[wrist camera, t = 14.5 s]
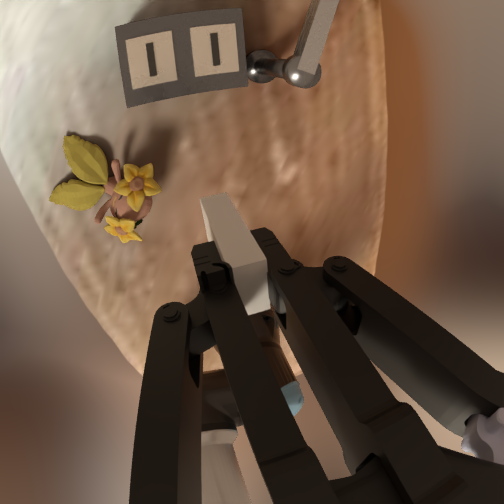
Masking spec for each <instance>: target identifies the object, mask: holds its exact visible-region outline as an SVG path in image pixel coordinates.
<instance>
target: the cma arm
mask: <svg viewBox="0 0 504 504" xmlns="http://www.w3.org/2000/svg"><path fill="white" fill-rule="evenodd" d="M338 3H339V0H312V1H311V4H310V6H309V9H308V12H307V15H306V18H305V21H304V24H303V27H302V30H301V33H300V36H299V39H298V42H297V45H296V48H295V51H294V54H293V55H292V56H290V57H289V58H287V59H286V60H285V62H284V63H283V66H282V74H283V77H284V79H285V80H286V82H287V83H289V84H290V85H293V86H296V87H300V88H311V87H313V86H315V85H316V84H317V83H318V82H319V80H320V78H321V66H320V64H319V60H320V57H321V54H322V51H323V48H324V45H325V42H326V39H327V36H328V33H329V30H330V27H331V24H332V21H333V18H334V15H335V12H336V9H337V6H338Z"/></svg>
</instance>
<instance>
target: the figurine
mask: <svg viewBox="0 0 504 504" xmlns="http://www.w3.org/2000/svg"><path fill="white" fill-rule="evenodd" d="M63 149H64V153H65V157H66V159H67V160H69V161H68V162H67V163H68V165H69V166H70V167H71V168H72V169H71V170H72V172H73V173H74V174H75V175H76V176H77V177H78V178H80V179H81V180H83V181H85V182H88V183H91V184H88V183H85V182H82V181H80V180H75V179H70V180H69V181H68V183H66V182H63V183H62V184H59V185H58V186H57V187H56V188H55V190H53V191H52V194H51V197H50V199H49V201H51V202H54V203H55V204H60V205H63V204H64V205H65V206H68V207H69V208H71V209H74V210H86V209H89V208H91V207H92V206H94V205H95V204H96V203H97V202H98V200H99V199H100V198H101V196H102V195H103V193H104V192H106V193H108V194H109V195H111V196H112V197H111V199H110V200H108V201H107V202H106V203H105V204H104V205H103V206H102V207H101V208H100V210H99V211H98V213H97V215H96V217H95V223H97V224H99V223H100V222H101V221H102V219H103V217H104V215H105V213H106V211H107V210H108V208H109V207H110V208H111V212H112V215H113V216H114V217H111V216H106V221H107V223H108V225H106V226H105V227H104V229H105V230H106V231H107V232H109V233H110V234H112V235H115V236H118V237H119V238H120V240H121V241H122V243H127V242H128V241H129V240H139V241H143V240H142V238H141V237H140V236H139V235H138V234H137V233H136V232H135V231H133V229H135V228H137V227H136V226H137V225H139V224H140V223H142V221H143V220H142V218H144V217H145V216H146V215H147V214H148V213H149V211H150V209H151V206H152V198H151V197H152V195H155V194H158V193H160V192H161V191H162V190H161V187H160V186H159V185H158V184H157V183H156V181H155V180H154V179H153V176H154V173H153V165H152V163H149V164H147V165H145V166H143V167H141V168H139V167H138V166H136V165H133V164H124V177H125V179H121V172H120V163H119V160H118V159H114V160H113V161H112V164H111V167H112V170H113V172H114V175H115V177H114V176H112V177H109V178H108V164H107V160H106V156H105V154H104V153H103V151H102V149H101V148H100V147H99V146H98V145H96V144H94V145H93V144H92V143H90V142H89V141H86V142H85V141H84V139H80V138H79V136H75V135H72V136H64V144H63ZM92 184H103V187H102V186H97V185H92ZM136 221H137V222H136ZM135 222H136V223H135Z"/></svg>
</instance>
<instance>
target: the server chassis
mask: <svg viewBox="0 0 504 504" xmlns="http://www.w3.org/2000/svg"><path fill="white" fill-rule="evenodd" d="M115 32H116V40H117V48H118V55H119V62H120V69H121V75H122V81H123V87H124V93H125V99H126V104H127V108H130V107H134V106H138V105H142V104H146V103H150V102H155V101H159V100H164V99H169V98H174V97H179V96H184V95H190V94H195V93H201V92H208V91H214V90H222V89H229V88H237V87H247V86H248V77H247V64H246V52H245V40H244V28H243V16H242V8H230V9H216V10H205V11H195V12H187V13H180V14H173V15H167V16H161V17H156V18H151V19H146V20H141V21H136V22H132V23H128V24H124V25H120V26H116V27H115Z"/></svg>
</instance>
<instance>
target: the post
mask: <svg viewBox="0 0 504 504" xmlns="http://www.w3.org/2000/svg"><path fill="white" fill-rule="evenodd" d="M285 60H286V59H277V57H276V56H275V55H274V54H273V53H271V52H269V51H267V50H256V51H253V52H251V53H249V54H248V55H247V56H246V64H247V77H248V78H249V79H250V80H251V81H253V82H257V83H267V82H270V81H271V80H273V79H274V78H275V77H278V78H284V77H283V74H282V66H283V63H284V62H285Z"/></svg>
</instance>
